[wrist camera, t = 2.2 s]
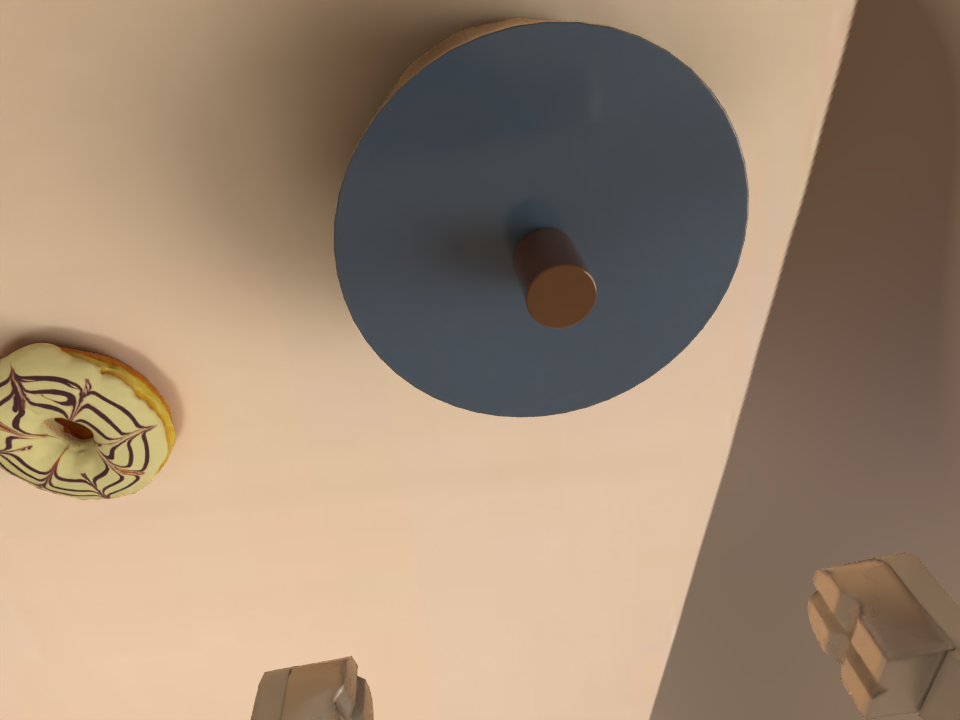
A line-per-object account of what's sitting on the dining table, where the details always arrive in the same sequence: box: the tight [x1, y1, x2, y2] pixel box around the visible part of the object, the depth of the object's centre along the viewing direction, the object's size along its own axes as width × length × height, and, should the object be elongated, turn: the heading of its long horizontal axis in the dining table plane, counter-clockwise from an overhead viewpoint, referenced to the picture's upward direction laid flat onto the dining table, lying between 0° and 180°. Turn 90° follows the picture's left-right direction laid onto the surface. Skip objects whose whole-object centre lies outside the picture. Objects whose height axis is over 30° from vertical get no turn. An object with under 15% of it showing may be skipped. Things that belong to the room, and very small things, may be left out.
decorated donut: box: [0, 343, 175, 500], centre depth 35 cm, size 10×11×4 cm
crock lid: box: [334, 20, 749, 417], centre depth 23 cm, size 17×17×5 cm
